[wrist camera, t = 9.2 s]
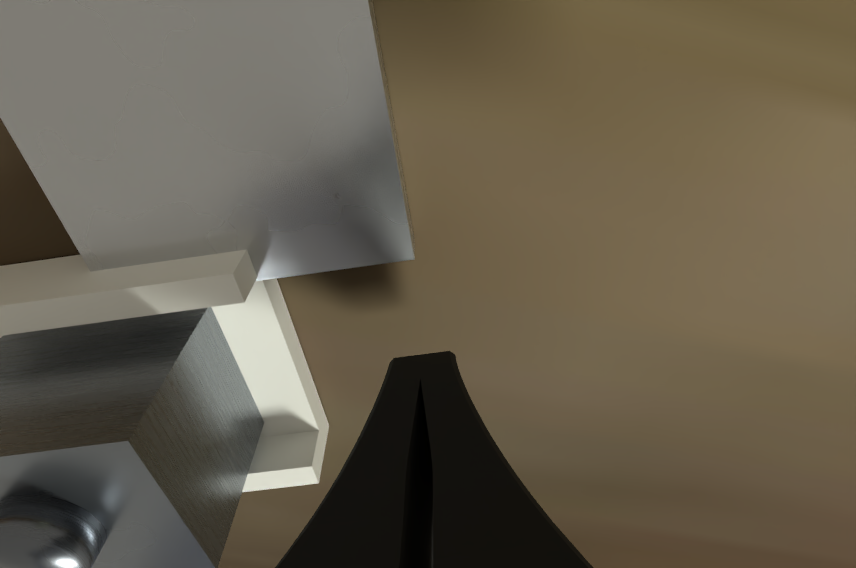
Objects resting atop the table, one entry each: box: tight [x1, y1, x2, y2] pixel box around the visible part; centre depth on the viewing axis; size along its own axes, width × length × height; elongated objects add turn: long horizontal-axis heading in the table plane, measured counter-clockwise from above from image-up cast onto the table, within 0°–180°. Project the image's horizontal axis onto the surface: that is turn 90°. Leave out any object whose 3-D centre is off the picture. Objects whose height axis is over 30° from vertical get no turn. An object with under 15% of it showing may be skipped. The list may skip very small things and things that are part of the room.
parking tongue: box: [0, 0, 415, 281], centre depth 10 cm, size 7×7×1 cm
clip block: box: [0, 307, 264, 568], centre depth 11 cm, size 4×5×5 cm
